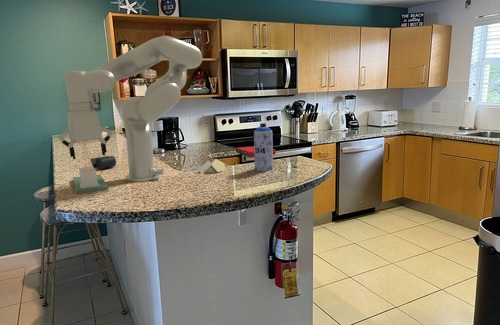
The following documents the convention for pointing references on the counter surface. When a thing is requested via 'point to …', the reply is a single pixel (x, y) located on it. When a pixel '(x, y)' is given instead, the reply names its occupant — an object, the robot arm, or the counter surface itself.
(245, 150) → the red device housing
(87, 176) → the plug cap
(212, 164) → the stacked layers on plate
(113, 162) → the speaker
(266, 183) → the counter surface
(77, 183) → the header board
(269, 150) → the aerosol can
